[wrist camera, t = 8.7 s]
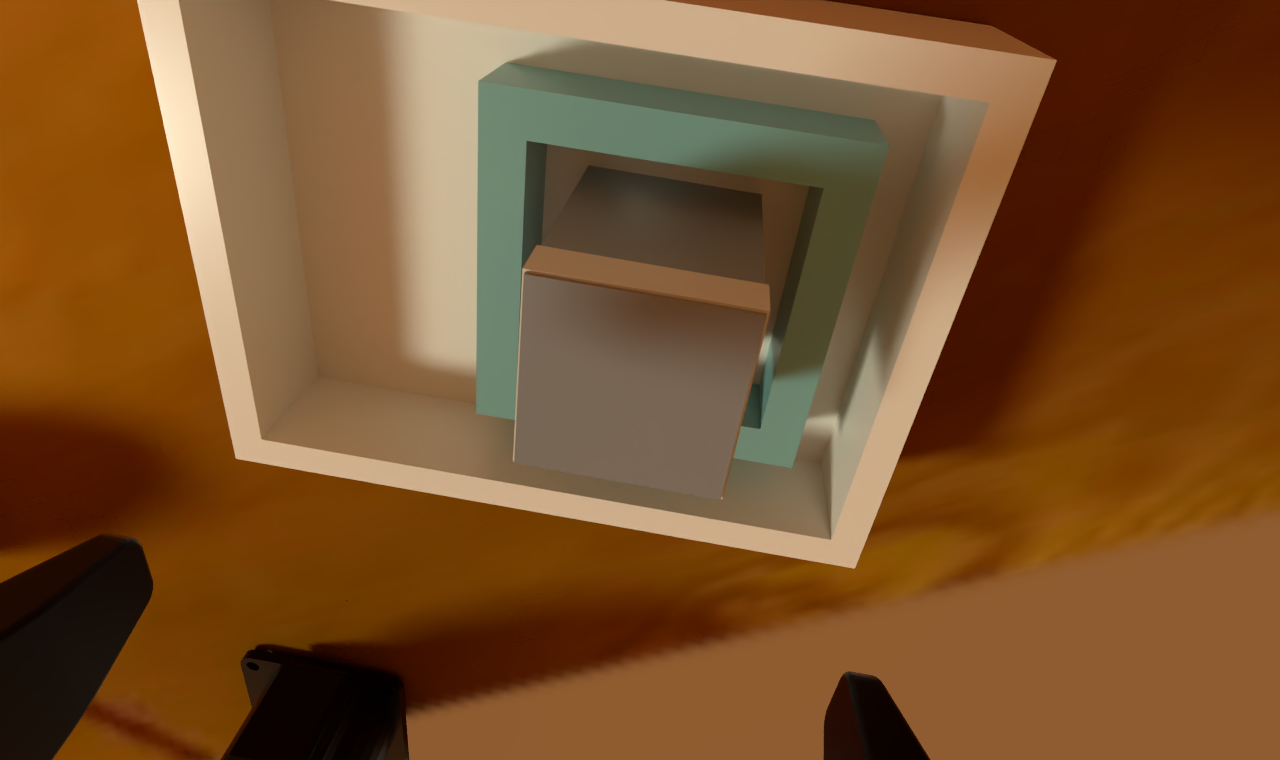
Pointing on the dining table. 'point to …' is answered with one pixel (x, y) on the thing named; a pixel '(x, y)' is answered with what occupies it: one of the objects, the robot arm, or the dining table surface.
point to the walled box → (533, 199)
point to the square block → (642, 332)
